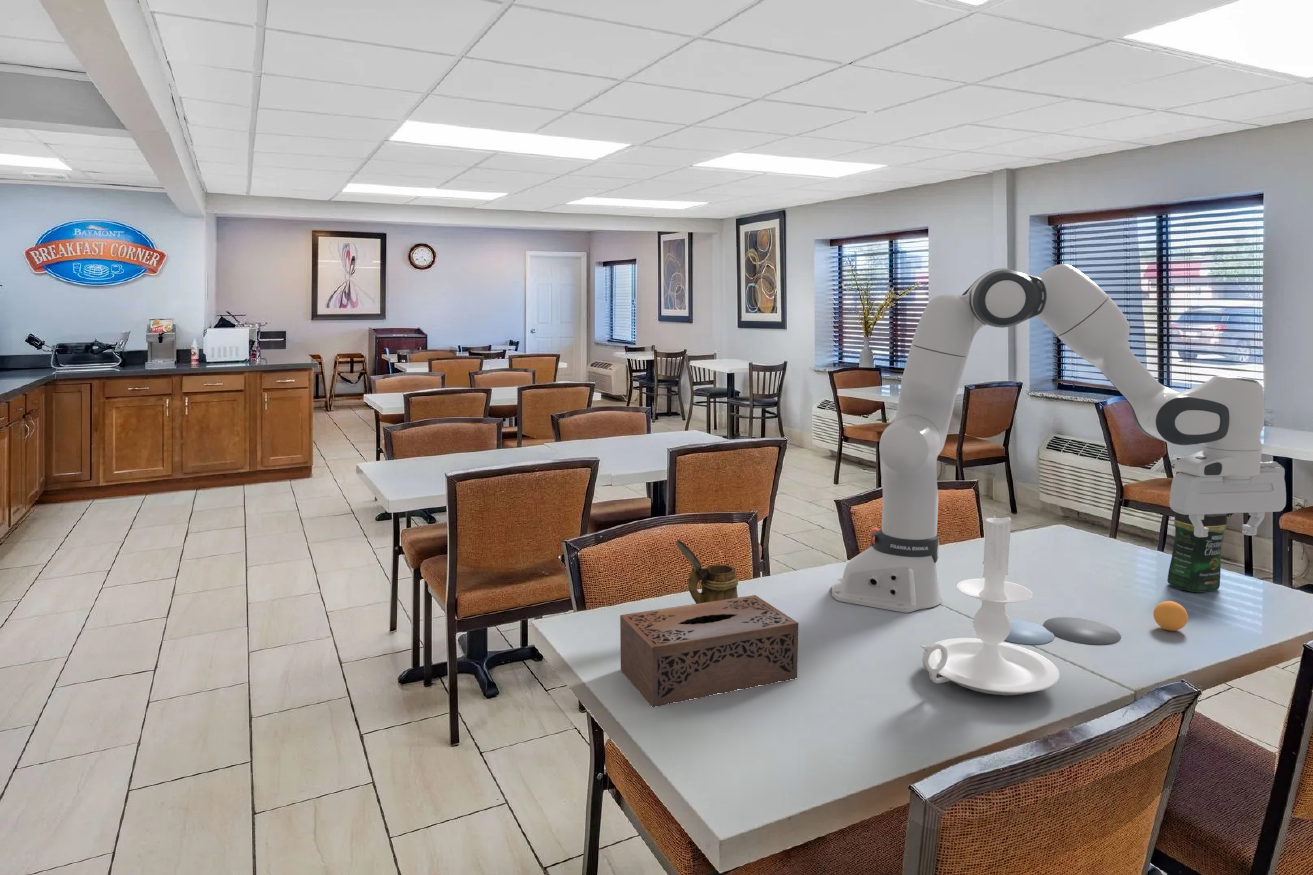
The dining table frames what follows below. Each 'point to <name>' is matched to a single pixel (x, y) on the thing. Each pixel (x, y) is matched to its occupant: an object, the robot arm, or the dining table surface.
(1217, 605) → the dining table surface
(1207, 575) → the coffee jar
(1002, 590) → the candlestick
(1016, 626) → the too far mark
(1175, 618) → the ball
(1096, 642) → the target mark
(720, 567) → the wooden mug
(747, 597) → the tissue box cover
